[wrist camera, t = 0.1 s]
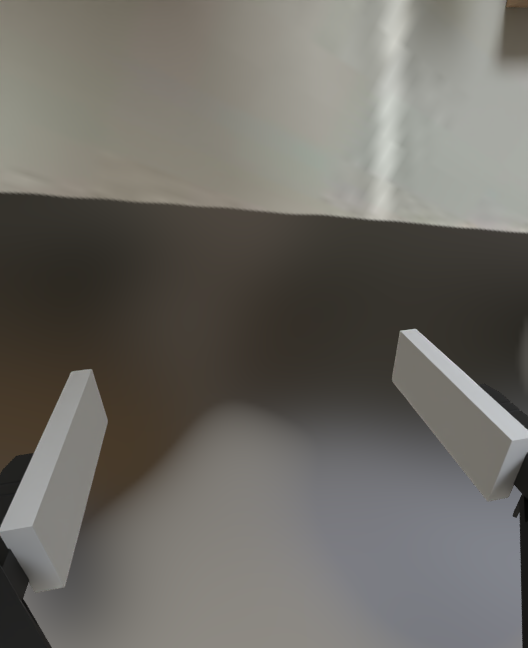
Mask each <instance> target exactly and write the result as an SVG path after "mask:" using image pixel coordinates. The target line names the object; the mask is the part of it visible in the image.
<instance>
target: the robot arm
mask: <svg viewBox="0 0 528 648" xmlns="http://www.w3.org/2000/svg"><path fill="white" fill-rule="evenodd" d="M392 381H393V383H394V384H395V385H396V386H397V388H398V389H399V390H400V391H401V393H402V394H403V395H404V396H405V398H406V399H407V400H408V401H409V403H410V404H411V405H412V407H413V408H414V409H415V410H416V412H417V413H418V414H419V415H420V417H421V418H422V419H423V420H424V421H425V423H426V424H427V425H428V426H429V428H430V429H431V431H432V432H433V433H434V434H435V436H436V437H437V438H438V439H439V440H440V442H441V443H442V444H443V446H444V447H445V448H446V449H447V451H448V452H449V453H450V454H451V456H452V457H453V458H454V459H455V461H456V462H457V463H458V464H459V466H460V467H461V468H462V470H463V471H464V472H465V473H466V475H467V476H468V477H469V478H470V480H471V481H472V482H473V483H474V485H475V486H476V487H477V488H478V490H479V491H480V492H481V494H482V495H483V496H484V497H485V498H486V500H487V501H493V500H498V499H502V498H507V497H509V495H510V493H511V491H512V488H513V486H514V485H515V486H516V487H517V488H518V489H519V491H520V492H521V493H522V495H521V497H520V500H519V502H518V504H517V506H516V508H515V510H514V513H513V517H517V516H518V514H519V512H520V547H521V548H520V549H521V550H520V551H521V591H522V592H521V595H522V639H523V640H522V641H523V648H528V416H527V415H526V414H524V413H523V412H522V411H519V409H518V407H516V406H515V405H514V404H513V403H510V401H509V400H508V399H507V398H506V397H505V396H504V395H502V394H501V393H500V392H499V391H497V390H495V389H493V388H491V387H490V386H488V385H486V384H481V385H477V384H476V383H475V382H474V381H473V380H472V379H470V378H469V376H467V375H466V374H465V373H464V372H463V371H462V370H461V369H460V368H459V367H458V366H456V365H455V364H454V363H453V362H452V361H451V360H450V359H448V357H446V356H445V355H444V354H443V353H442V352H441V351H440V350H439V349H438V348H436V347H435V346H434V345H433V344H432V343H431V342H430V341H429V340H428V339H426V338H425V337H424V336H423V335H422V334H421V333H420V332H418V330H417V329H411V330H403V331H400V334H399V340H398V346H397V353H396V358H395V365H394V370H393V376H392ZM107 423H108V420H107V417H106V414H105V410H104V407H103V404H102V401H101V397H100V394H99V391H98V388H97V384H96V381H95V378H94V375H93V371H92V369H88V370H81V371H72V372H71V374H70V376H69V378H68V380H67V382H66V385H65V387H64V389H63V391H62V393H61V395H60V398H59V400H58V402H57V404H56V406H55V409H54V411H53V413H52V415H51V417H50V420H49V422H48V424H47V426H46V428H45V431H44V433H43V435H42V437H41V439H40V441H39V444H38V446H37V448H36V450H35V452H34V453H32V454H25V455H19V456H16V457H15V458H14V459H13V460H12V461H11V462H10V463H9V464H8V465H7V466H6V467H5V468H4V469H3V470H2V472H1V474H0V648H52V647H51V646H50V644H49V642H48V640H47V639H46V637H45V635H44V634H43V632H42V630H41V628H40V627H39V625H38V623H37V621H36V620H35V618H34V616H33V615H32V613H31V611H30V610H29V608H28V606H27V604H26V603H25V601H24V600H23V597H24V593H25V591H26V588H27V585H28V582H29V583H30V585H31V587H32V588H33V590H34V592H35V593H37V592H42V591H47V590H52V589H57V588H62V587H65V584H66V581H67V577H68V573H69V569H70V565H71V561H72V557H73V554H74V550H75V545H76V542H77V538H78V534H79V530H80V526H81V523H82V519H83V515H84V511H85V507H86V503H87V500H88V496H89V492H90V488H91V484H92V480H93V477H94V473H95V468H96V465H97V461H98V458H99V454H100V449H101V446H102V442H103V438H104V434H105V431H106V427H107Z"/></svg>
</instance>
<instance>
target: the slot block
mask: <svg viewBox="0 0 528 648" xmlns="http://www.w3.org/2000/svg"><path fill="white" fill-rule="evenodd" d="M506 7H528V0H507V4H506Z"/></svg>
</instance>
